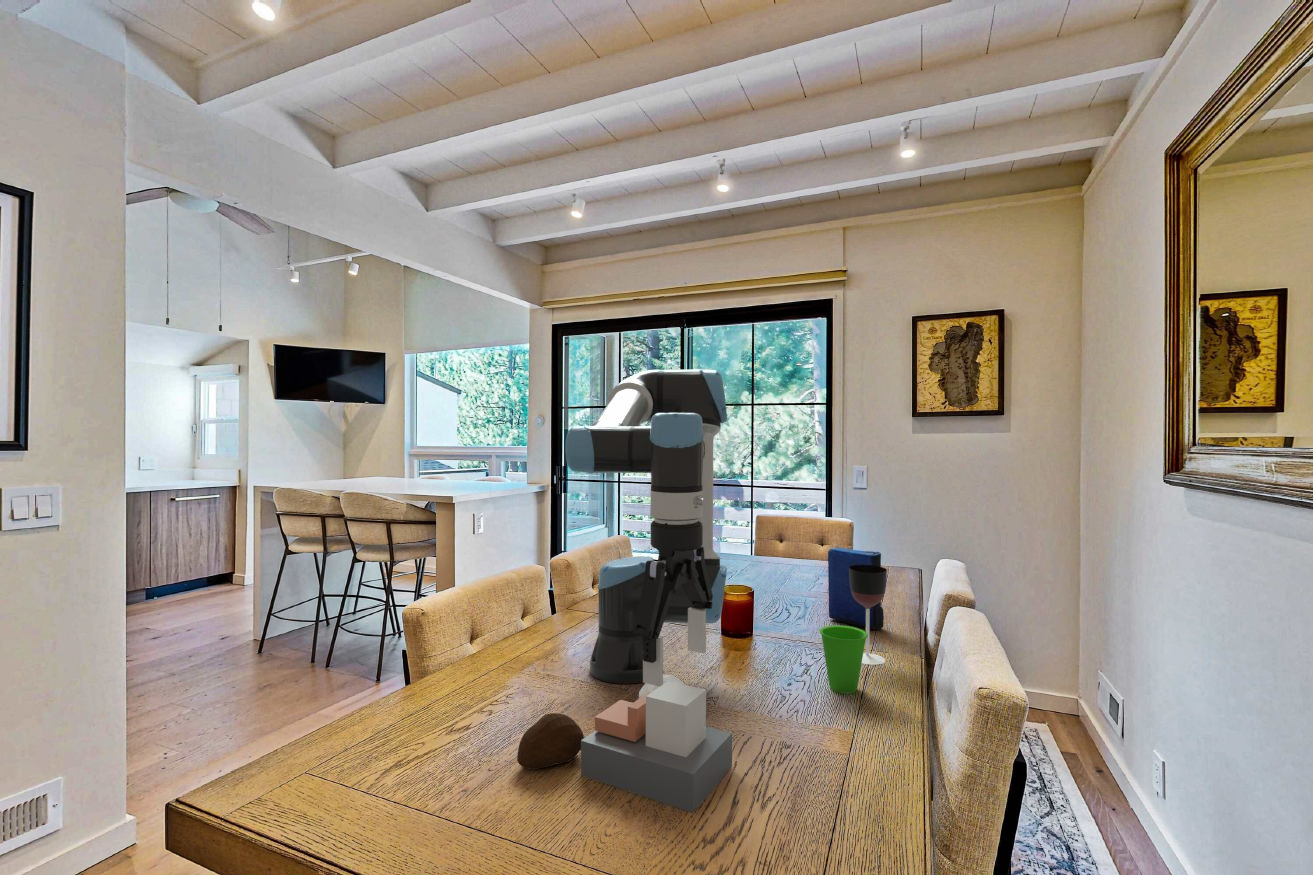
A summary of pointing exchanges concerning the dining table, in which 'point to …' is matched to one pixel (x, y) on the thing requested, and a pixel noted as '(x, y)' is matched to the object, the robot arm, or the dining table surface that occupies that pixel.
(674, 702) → the plug
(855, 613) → the book
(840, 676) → the cup
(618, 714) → the orange l-shaped block
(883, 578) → the wineglass
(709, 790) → the socket board
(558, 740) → the potato
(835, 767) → the dining table surface
